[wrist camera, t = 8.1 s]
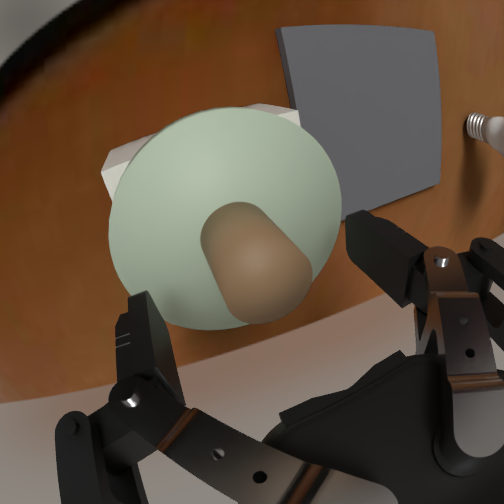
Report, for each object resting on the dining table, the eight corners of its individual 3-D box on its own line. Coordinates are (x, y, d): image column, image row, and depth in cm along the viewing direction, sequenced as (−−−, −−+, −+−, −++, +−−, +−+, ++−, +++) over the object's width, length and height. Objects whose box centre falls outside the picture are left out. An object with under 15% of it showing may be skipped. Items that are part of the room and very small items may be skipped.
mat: (426, 31, 17) (433, 31, 17) (433, 180, 25) (439, 183, 25) (275, 29, 15) (280, 27, 14) (308, 226, 23) (313, 231, 22)
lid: (314, 85, 13) (393, 93, 8) (334, 271, 19) (386, 324, 15) (72, 159, 11) (36, 203, 7) (163, 340, 17) (180, 416, 13)
